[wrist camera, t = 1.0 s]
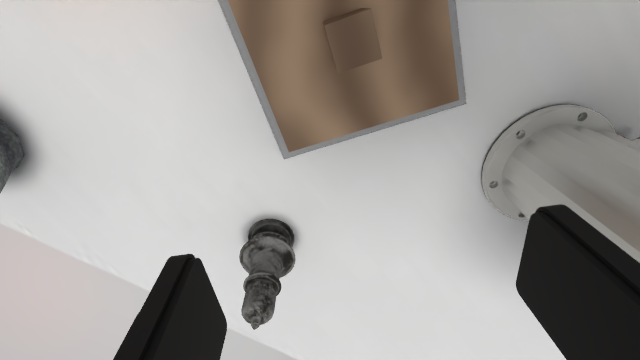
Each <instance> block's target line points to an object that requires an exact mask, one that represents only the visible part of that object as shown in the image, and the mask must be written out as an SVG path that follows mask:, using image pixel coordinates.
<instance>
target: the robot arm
mask: <svg viewBox="0 0 640 360" xmlns="http://www.w3.org/2000/svg"><path fill="white" fill-rule="evenodd" d="M482 186H483V190H484V193H485V195H486V197H487V199H488V200H489V202H490V203H491V204H492V205H493V206H494V207H495V208H496V209H497V210H498V211H499V212H501V213H502V214H504V215H506V216H508V217H510V218H514V219H518V220H529V225H528V229H527V234H526V239H525V243H524V248H523V252H522V257H521V262H520V266H519V271H518V275H517V280H516V287H517V291H518V293H519V295H520V296H521V298H522V299H523V300H524V302H525V303H526V305H527V306H528V307H529V309H530V310H531V311H532V313H533V314H534V316H535V317H536V318H537V320H538V321H539V322H540V324H541V325H542V327H543V328H544V329H545V331H546V332H547V333H548V335H549V336H550V337H551V339H552V340H553V342H554V343H555V344H556V346H557V347H558V348H559V350H560V351H561V353H562V354H563V355H564V357H565V358H566V359H567V360H640V137H639V138H637V139H635V140H629V139H626V138H624V137H622V136H619V135H617V134H616V133H615V130H614V128H613V126H612V125H611V123H610V122H609V120H608V119H606V118H605V117H604V116H603V115H601V114H600V113H598V112H596V111H593V110H591V109H589V108H585V107H582V106H578V105H566V104H564V105H556V106H550V107H547V108H543V109H540V110H537V111H535V112H533V113H531V114H529V115H527V116H525V117H523V118H522V119H520V120H519V121H517V122H516V123H514V124H513V125H512V126H511V127H509V128H508V129H507V130H506V131H505V132H504V133H503V134H502V135H501V136H500V137H499V138H498V140H497V141H496V142H495V143H494V145H493V146H492V148H491V150H490V151H489V153H488V155H487V157H486V160H485V163H484V165H483V171H482ZM226 331H227V322H226V318H225V316H224V313H223V311H222V309H221V306H220V304H219V302H218V299H217V297H216V294H215V292H214V290H213V287H212V285H211V283H210V280H209V278H208V275H207V273H206V271H205V268H204V266H203V264H202V261H201V260H200V259H199V258H195V257H194V255H192V254H186V255H178V256H171V257H170V258H169V259H168V260H167V262H166V264H165V266H164V268H163V269H162V271H161V273H160V275H159V277H158V279H157V281H156V283H155V284H154V286H153V288H152V290H151V292H150V294H149V296H148V298H147V299H146V301H145V303H144V305H143V307H142V309H141V311H140V312H139V314H138V315H137V317H136V318H135V320H134V322H133V324H132V326H131V327H130V329H129V331H128V333H127V335H126V337H125V339H124V341H123V342H122V344H121V346H120V348H119V350H118V352H117V354H116V355H115V357H114V359H113V360H220V356H221V352H222V348H223V344H224V340H225V335H226Z"/></svg>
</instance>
